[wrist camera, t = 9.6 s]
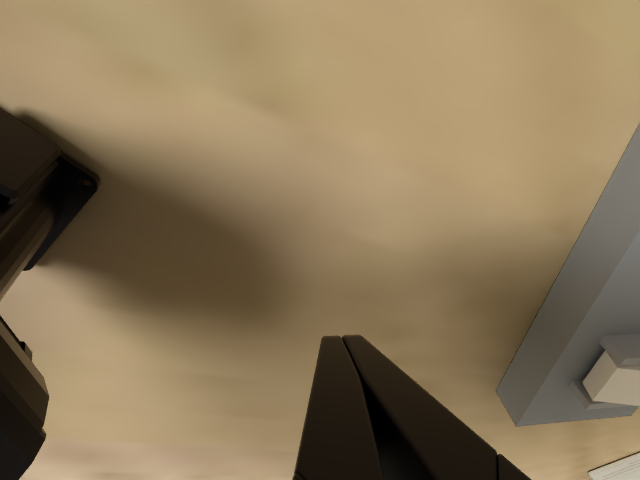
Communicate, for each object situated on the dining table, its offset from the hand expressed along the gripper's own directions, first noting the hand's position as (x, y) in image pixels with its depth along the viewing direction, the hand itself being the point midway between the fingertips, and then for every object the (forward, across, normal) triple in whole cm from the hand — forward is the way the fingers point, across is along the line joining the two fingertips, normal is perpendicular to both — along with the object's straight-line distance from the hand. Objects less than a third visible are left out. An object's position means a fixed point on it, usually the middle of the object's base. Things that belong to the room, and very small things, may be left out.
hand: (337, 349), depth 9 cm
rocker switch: (+8, +23, -13) cm, 27 cm away
